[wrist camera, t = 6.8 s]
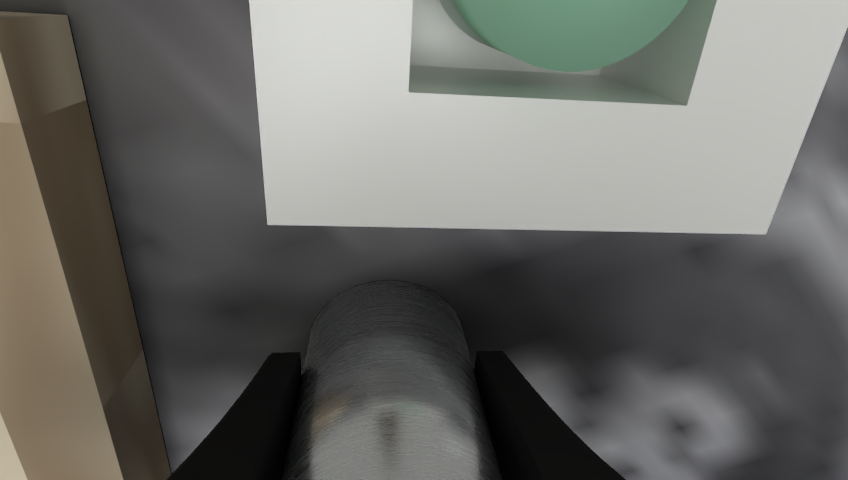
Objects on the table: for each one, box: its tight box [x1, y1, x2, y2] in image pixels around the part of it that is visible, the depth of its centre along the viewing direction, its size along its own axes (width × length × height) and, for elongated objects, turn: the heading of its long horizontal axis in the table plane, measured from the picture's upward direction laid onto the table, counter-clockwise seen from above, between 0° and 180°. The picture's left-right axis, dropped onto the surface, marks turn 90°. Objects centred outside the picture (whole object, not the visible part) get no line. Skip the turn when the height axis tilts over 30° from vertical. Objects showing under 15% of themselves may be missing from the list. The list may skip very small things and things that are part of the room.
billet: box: [282, 280, 502, 480], centre depth 10 cm, size 4×4×6 cm
